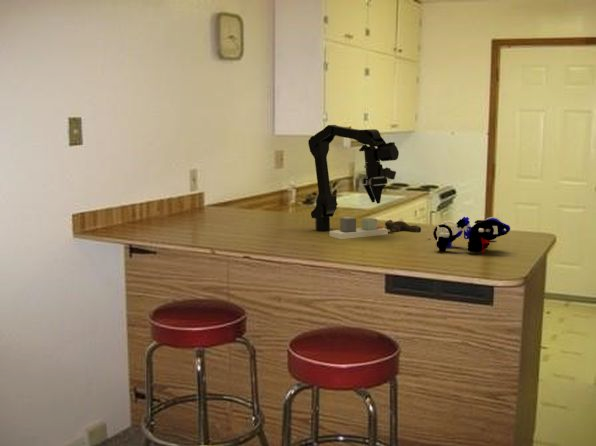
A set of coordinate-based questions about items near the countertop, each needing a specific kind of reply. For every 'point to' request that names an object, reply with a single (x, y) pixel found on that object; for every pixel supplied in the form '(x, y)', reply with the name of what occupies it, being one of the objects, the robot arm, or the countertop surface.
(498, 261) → the countertop surface
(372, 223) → the lamp plug
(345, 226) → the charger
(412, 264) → the countertop surface
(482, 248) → the robot toy
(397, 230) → the faucet
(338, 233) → the power strip
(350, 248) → the countertop surface
